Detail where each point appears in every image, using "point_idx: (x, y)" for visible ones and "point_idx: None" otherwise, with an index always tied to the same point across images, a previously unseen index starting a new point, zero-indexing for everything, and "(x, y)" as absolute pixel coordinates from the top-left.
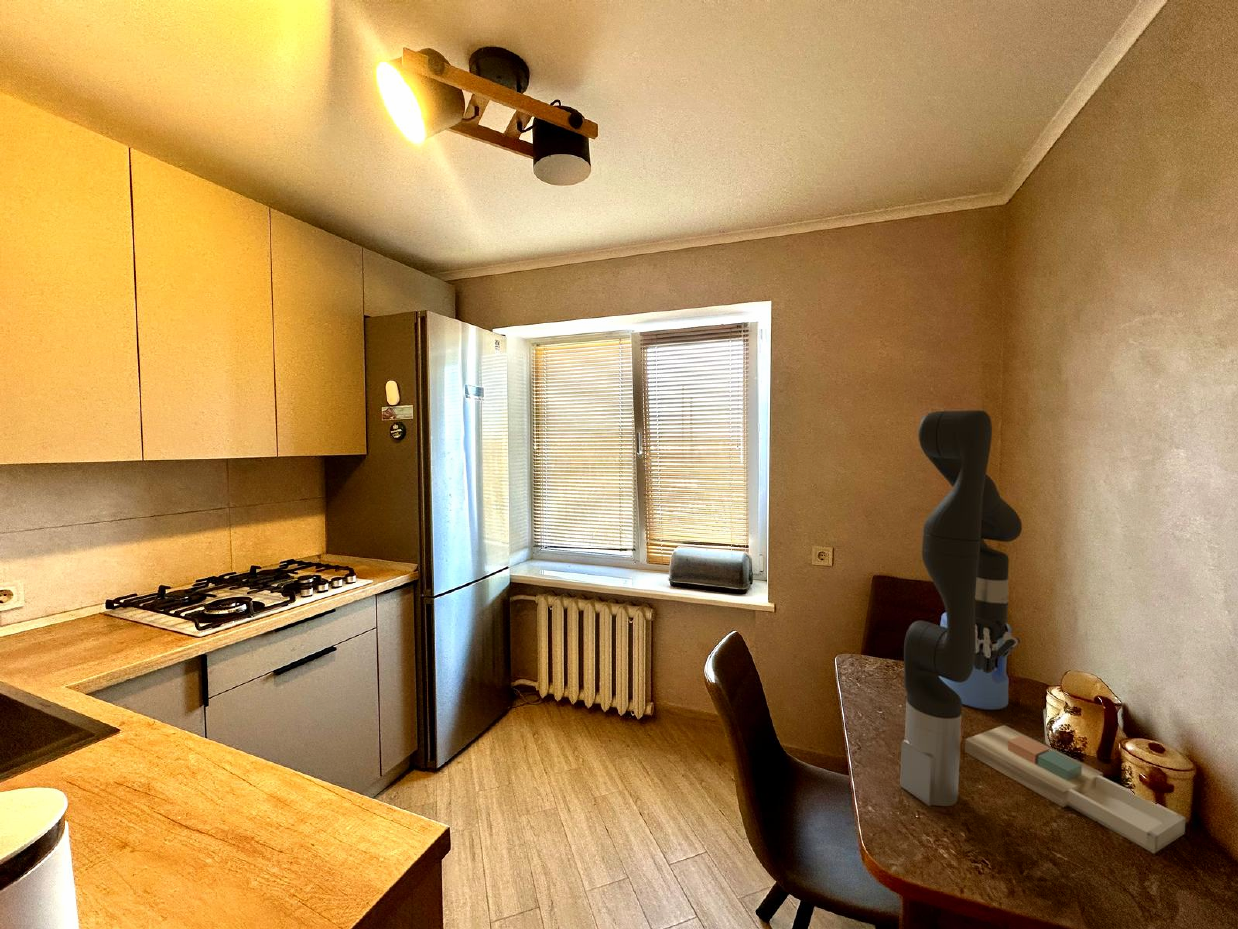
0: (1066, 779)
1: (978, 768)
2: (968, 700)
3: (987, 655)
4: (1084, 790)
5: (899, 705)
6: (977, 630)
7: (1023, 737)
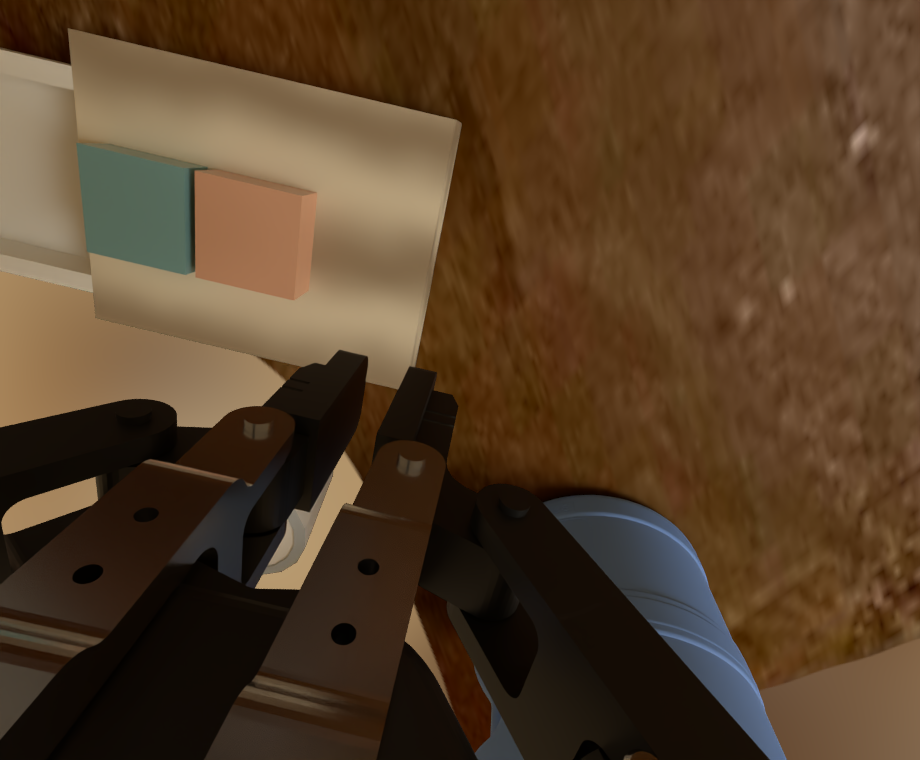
0: (108, 144)
1: (381, 34)
2: (570, 507)
3: (255, 413)
4: None
5: (790, 289)
6: (226, 729)
7: (283, 287)
